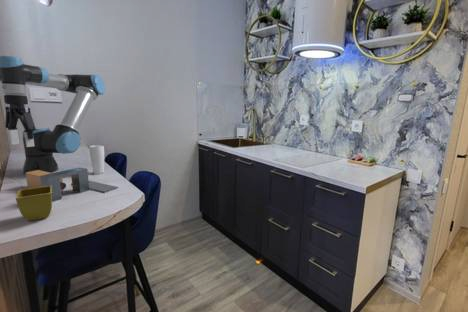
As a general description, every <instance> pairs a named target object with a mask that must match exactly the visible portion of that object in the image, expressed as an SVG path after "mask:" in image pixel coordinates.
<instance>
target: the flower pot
mask: <svg viewBox="0 0 468 312" xmlns="http://www.w3.org/2000/svg"><path fill="white" fill-rule="evenodd" d="M15 202H16V203H17V204H16V205H17V206H18V209H19V212H20V214H21V215H22V217H23V218H24V219H26V220H27V221H28V222H30V221H31V222H32V221H36V220H41V219H46V218H48V217H50V215H51V213H52V206H53V202H52V186H45V187H38V188H26V189H19V190H17V194H16V195H15Z"/></svg>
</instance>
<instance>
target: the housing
mask: <svg viewBox="0 0 468 312" xmlns="http://www.w3.org/2000/svg"><path fill="white" fill-rule="evenodd" d="M50 173H51V174H46V175H42V176H40V179H41V187H45V186H52V203H53V202H56V201H59V200H63V196H62V191H61V186H60V178H62V179H63V178H66V177H70V178H71V184H72V185H71V186H72V191H73V192H74V193H75V192H76V193H79V194H82V193H84V192H88V191H90V189H89V181H90V180H89V171H88V168H86V167H85V168H84V167H80V166H79V167H76V168H75V167H74V168H70V169H65V170H61V171H56V172H50ZM88 180H89V181H88Z"/></svg>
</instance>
